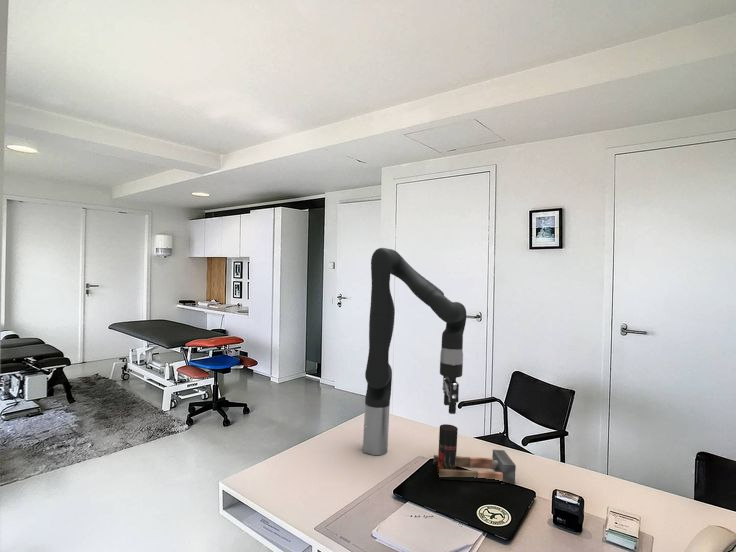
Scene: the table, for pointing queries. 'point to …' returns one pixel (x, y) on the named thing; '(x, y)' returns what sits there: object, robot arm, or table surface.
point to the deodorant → (447, 447)
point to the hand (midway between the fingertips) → (449, 409)
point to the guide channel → (498, 462)
